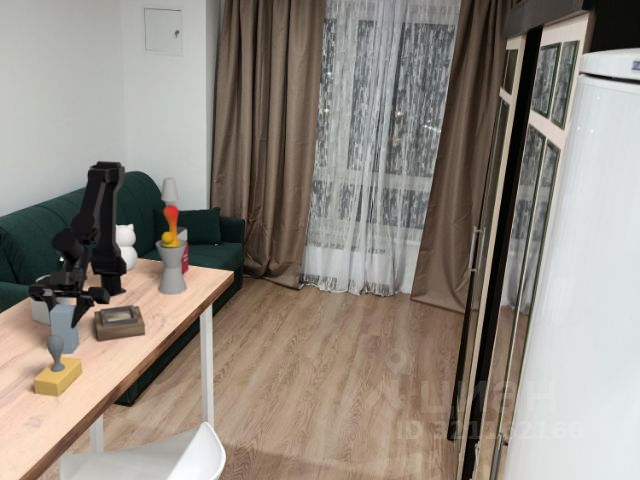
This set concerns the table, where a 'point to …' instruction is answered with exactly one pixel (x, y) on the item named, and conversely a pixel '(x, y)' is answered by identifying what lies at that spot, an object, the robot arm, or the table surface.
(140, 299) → the table surface
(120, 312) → the walnut plinth
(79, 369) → the rubber stamp
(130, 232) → the cat figurine
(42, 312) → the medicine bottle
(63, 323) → the slate post
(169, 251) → the lava lamp
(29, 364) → the table surface
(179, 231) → the red and white box
